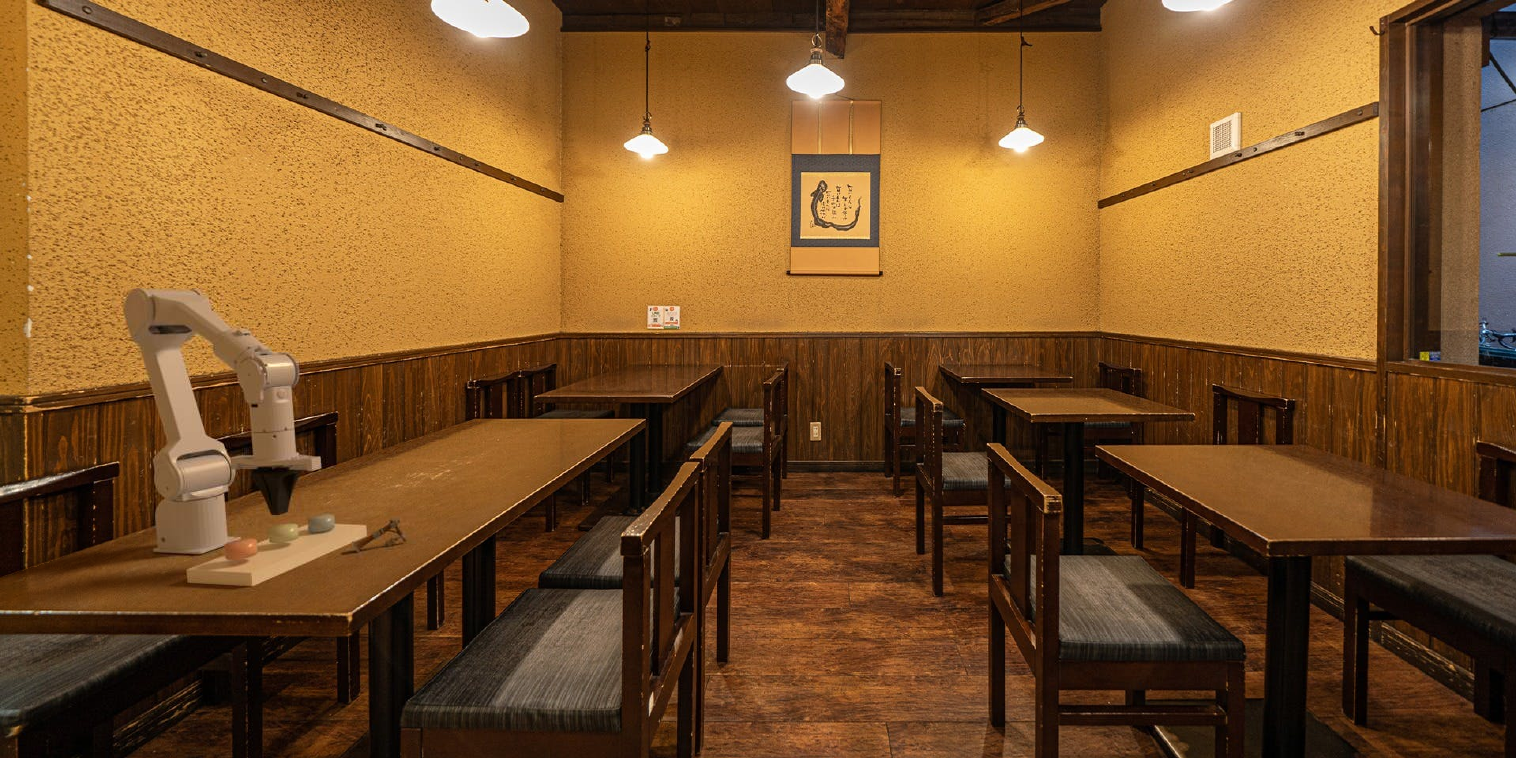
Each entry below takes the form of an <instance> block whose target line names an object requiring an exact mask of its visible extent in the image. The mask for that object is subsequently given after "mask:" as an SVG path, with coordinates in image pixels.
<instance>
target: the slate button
mask: <svg viewBox="0 0 1516 758" xmlns="http://www.w3.org/2000/svg"><path fill="white" fill-rule="evenodd" d="M306 520H307V524H308V531H309V532H322V531H327V530H331V529H333V528H335V524H336V523H335V515H334V514H330V513H325V514H318V515H317V514H316V515H313V516H310V517H307V518H306Z"/></svg>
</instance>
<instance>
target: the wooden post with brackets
mask: <svg viewBox="0 0 1516 758" xmlns="http://www.w3.org/2000/svg"><path fill="white" fill-rule="evenodd" d="M401 522H402V519H401V518H398V519H397V518H395V519H392V518H391V519H390V520H389V522H388V524H387V525H386V526H384V527H380V528H379V529H377V530H376V531H374V532H372V533H371V535H369V536H366V537H364V538H361V539H359V540H357V541H355V542H354V541H353V542H352V543H351V545H352V546H353V548H354V549H355V551H356V552H357V553H360V552H361V551H360V550H362V549H363V547H365V546H366V545H368V544H369V543H370V542H372V541H376V540H377V539H379V538H380V537H382V536H384V535H385V534H386V533H388V532H389V533H394V534H397V535H398V536H397V537H395V538H394V537H391V538H390V539H389V540H385V543H384V544H383V547H385V548H387V547H391V546H392V545H396V541H398V540H399V539H400V538H401V540H402V541H403V542H407V541H408V539H407V538H406V535H405V534H404V533H403V532H402V530H400V528H399V525H400V523H401ZM393 529H395V530H393ZM398 542H399V541H398Z"/></svg>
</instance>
